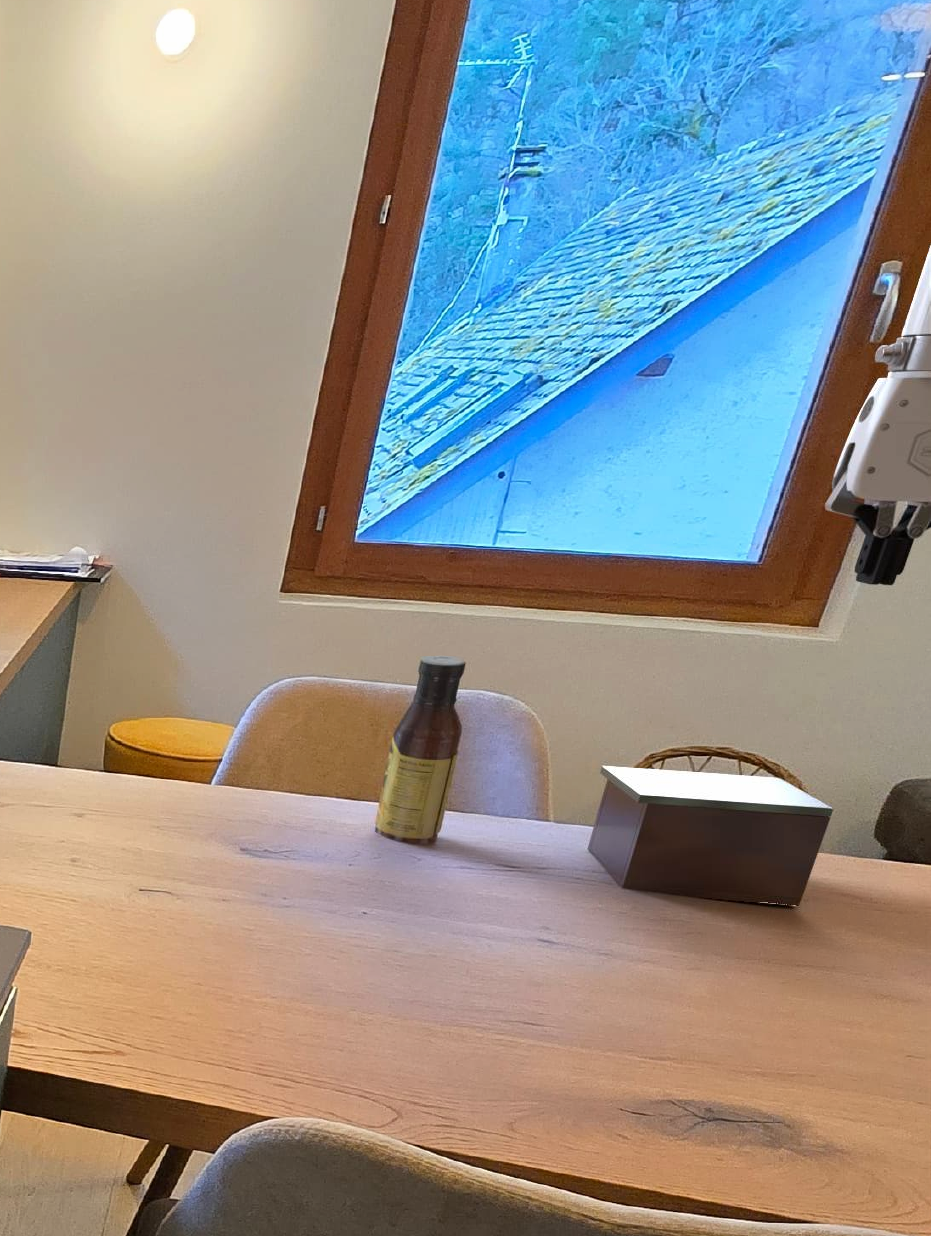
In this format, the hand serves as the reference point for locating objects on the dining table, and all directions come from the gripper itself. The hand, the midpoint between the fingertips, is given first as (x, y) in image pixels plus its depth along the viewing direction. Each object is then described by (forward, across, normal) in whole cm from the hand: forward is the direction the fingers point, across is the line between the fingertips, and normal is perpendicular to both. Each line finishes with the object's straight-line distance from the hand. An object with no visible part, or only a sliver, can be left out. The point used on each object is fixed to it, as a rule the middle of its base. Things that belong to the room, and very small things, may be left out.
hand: (874, 582), depth 122 cm
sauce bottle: (+29, -32, +4) cm, 44 cm away
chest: (+29, -7, 0) cm, 30 cm away
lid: (+20, -7, 0) cm, 22 cm away
